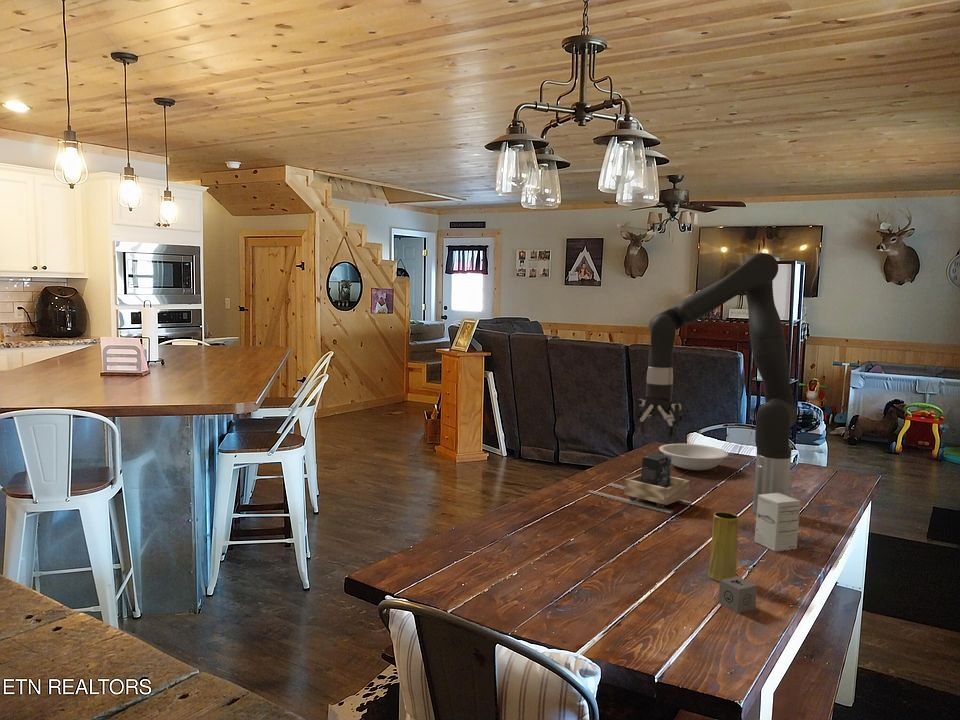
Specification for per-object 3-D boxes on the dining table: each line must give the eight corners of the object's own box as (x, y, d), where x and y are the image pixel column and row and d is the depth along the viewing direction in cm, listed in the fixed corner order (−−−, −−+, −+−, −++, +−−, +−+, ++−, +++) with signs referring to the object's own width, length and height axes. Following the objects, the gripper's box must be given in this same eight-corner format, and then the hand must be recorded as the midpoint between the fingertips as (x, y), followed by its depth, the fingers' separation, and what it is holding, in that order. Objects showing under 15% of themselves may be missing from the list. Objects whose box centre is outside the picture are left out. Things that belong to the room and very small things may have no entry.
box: (656, 495, 212) (658, 459, 211) (639, 490, 216) (641, 456, 215) (670, 490, 218) (672, 455, 217) (653, 486, 222) (655, 452, 221)
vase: (713, 570, 165) (717, 509, 164) (740, 577, 162) (744, 515, 160) (703, 577, 161) (707, 515, 159) (730, 585, 157) (734, 521, 155)
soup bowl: (734, 467, 265) (735, 449, 264) (717, 481, 245) (718, 461, 244) (669, 457, 278) (670, 440, 277) (648, 469, 257) (649, 451, 257)
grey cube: (735, 599, 150) (737, 576, 150) (755, 609, 146) (756, 585, 145) (718, 603, 148) (719, 580, 147) (737, 613, 143) (739, 589, 143)
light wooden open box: (688, 500, 217) (689, 480, 217) (666, 510, 207) (667, 489, 206) (646, 490, 227) (648, 471, 226) (623, 499, 216) (624, 479, 216)
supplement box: (753, 542, 185) (756, 494, 184) (776, 539, 188) (779, 491, 186) (774, 552, 178) (778, 502, 177) (797, 549, 181) (801, 500, 179)
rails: (691, 504, 217) (692, 501, 216) (670, 513, 206) (670, 511, 206) (611, 485, 235) (611, 483, 235) (587, 493, 225) (587, 491, 225)
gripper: (687, 383, 212) (685, 437, 213) (644, 378, 221) (642, 431, 223) (676, 385, 206) (673, 441, 208) (631, 380, 216) (629, 434, 217)
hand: (657, 436), depth 215 cm, fingers open, 8 cm apart
